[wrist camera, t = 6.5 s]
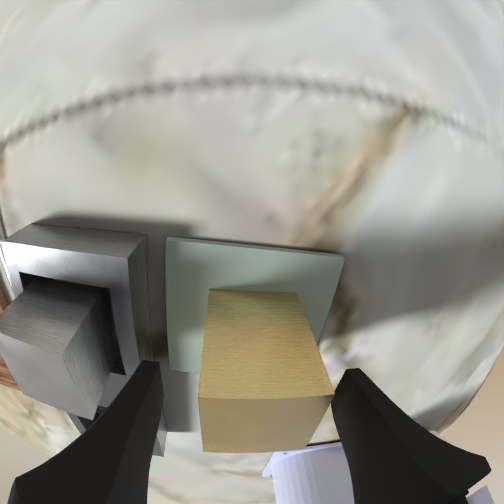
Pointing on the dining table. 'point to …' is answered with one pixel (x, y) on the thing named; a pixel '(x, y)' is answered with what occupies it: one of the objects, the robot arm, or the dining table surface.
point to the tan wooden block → (259, 374)
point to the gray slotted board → (96, 274)
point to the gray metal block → (60, 343)
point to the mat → (238, 286)
